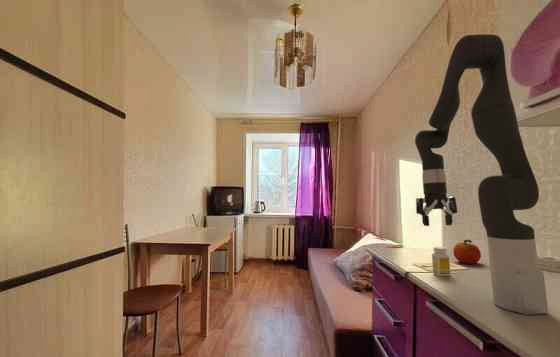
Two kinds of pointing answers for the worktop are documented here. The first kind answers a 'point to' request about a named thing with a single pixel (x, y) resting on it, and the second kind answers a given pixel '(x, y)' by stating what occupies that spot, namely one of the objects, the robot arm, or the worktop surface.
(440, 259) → the supplement bottle
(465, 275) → the worktop surface
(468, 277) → the worktop surface
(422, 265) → the paper
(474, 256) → the fruit
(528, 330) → the worktop surface
